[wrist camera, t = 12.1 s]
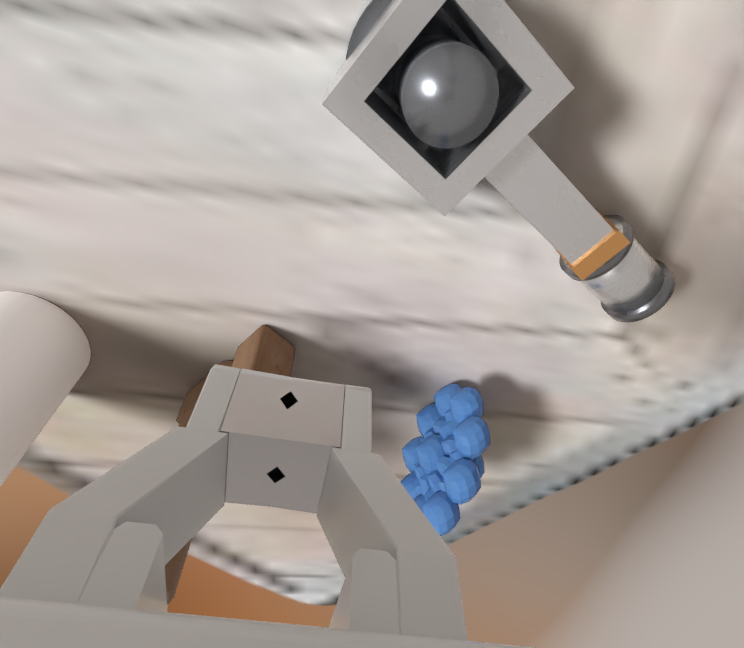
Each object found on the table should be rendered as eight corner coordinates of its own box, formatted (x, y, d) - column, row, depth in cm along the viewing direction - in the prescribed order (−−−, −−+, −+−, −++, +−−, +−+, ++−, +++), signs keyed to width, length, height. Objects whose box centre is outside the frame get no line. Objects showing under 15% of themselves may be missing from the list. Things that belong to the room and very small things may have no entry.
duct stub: (550, 253, 37) (574, 286, 33) (607, 204, 35) (641, 233, 31) (596, 298, 39) (624, 334, 35) (652, 255, 37) (689, 288, 33)
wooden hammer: (297, 347, 41) (262, 547, 26) (219, 413, 45) (151, 619, 30) (263, 320, 40) (205, 517, 25) (185, 391, 44) (95, 598, 29)
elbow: (329, 82, 29) (321, 104, 23) (431, -51, 26) (452, -64, 20) (525, 267, 36) (557, 319, 30) (625, 181, 33) (683, 222, 27)
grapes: (437, 459, 49) (457, 577, 39) (378, 437, 47) (383, 555, 37) (508, 380, 44) (552, 494, 34) (444, 352, 42) (471, 464, 32)
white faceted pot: (462, -73, 26) (503, -100, 19) (536, 97, 31) (593, 130, 23) (312, 46, 29) (295, 64, 22) (401, 185, 34) (412, 239, 26)
